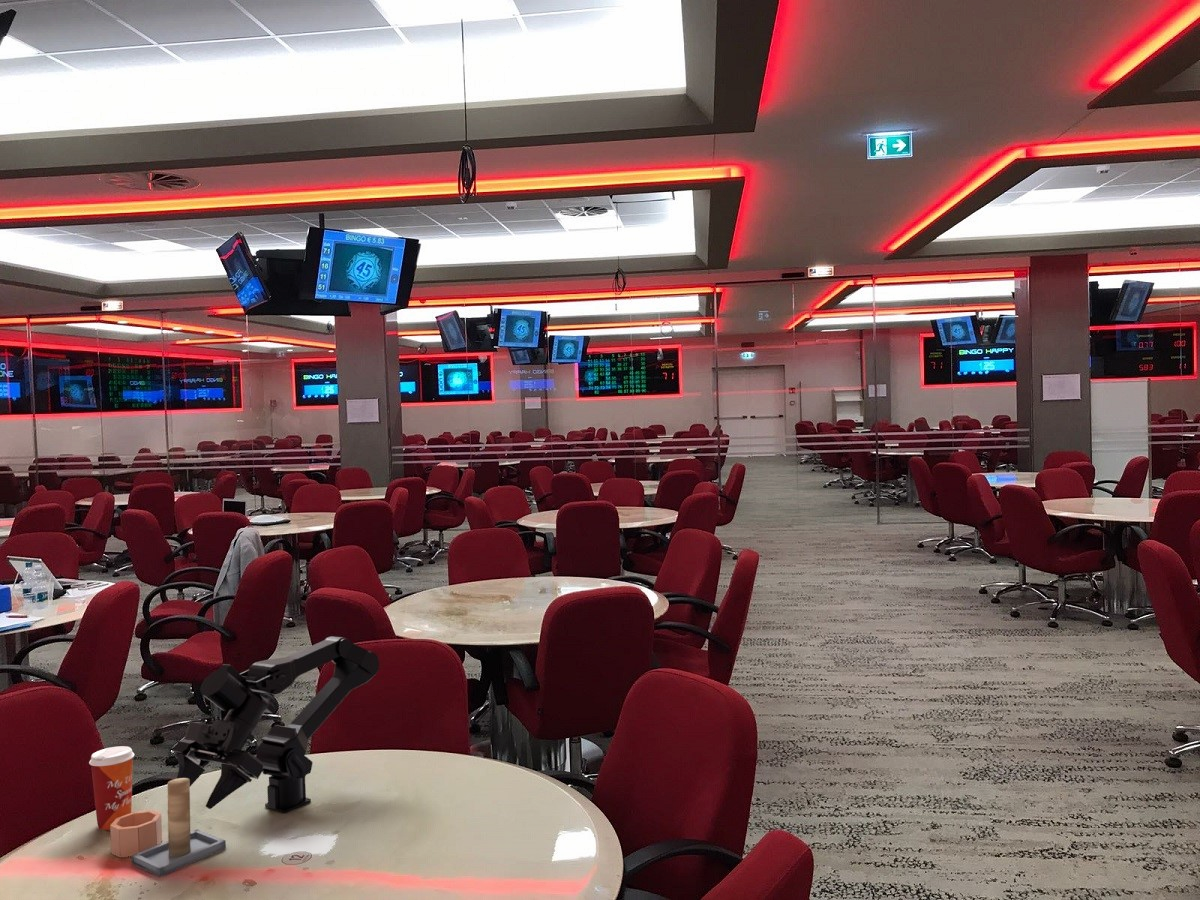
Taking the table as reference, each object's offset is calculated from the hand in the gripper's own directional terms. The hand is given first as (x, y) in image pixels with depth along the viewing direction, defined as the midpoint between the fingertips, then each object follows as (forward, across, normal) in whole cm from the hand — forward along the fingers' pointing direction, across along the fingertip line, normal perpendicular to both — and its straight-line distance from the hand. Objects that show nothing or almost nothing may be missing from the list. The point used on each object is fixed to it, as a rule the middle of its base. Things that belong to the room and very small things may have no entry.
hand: (190, 803), depth 156 cm
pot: (+8, -11, +3) cm, 14 cm away
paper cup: (+5, -24, +7) cm, 26 cm away
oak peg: (+7, 0, +4) cm, 8 cm away
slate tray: (+8, 0, +4) cm, 9 cm away
